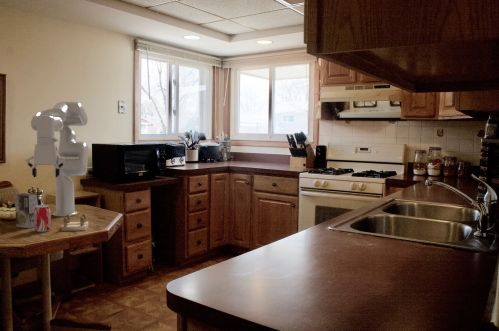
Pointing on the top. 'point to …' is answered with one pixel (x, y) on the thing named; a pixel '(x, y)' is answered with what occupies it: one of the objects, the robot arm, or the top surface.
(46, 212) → the soda can
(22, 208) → the coffee box
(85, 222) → the peg stand
